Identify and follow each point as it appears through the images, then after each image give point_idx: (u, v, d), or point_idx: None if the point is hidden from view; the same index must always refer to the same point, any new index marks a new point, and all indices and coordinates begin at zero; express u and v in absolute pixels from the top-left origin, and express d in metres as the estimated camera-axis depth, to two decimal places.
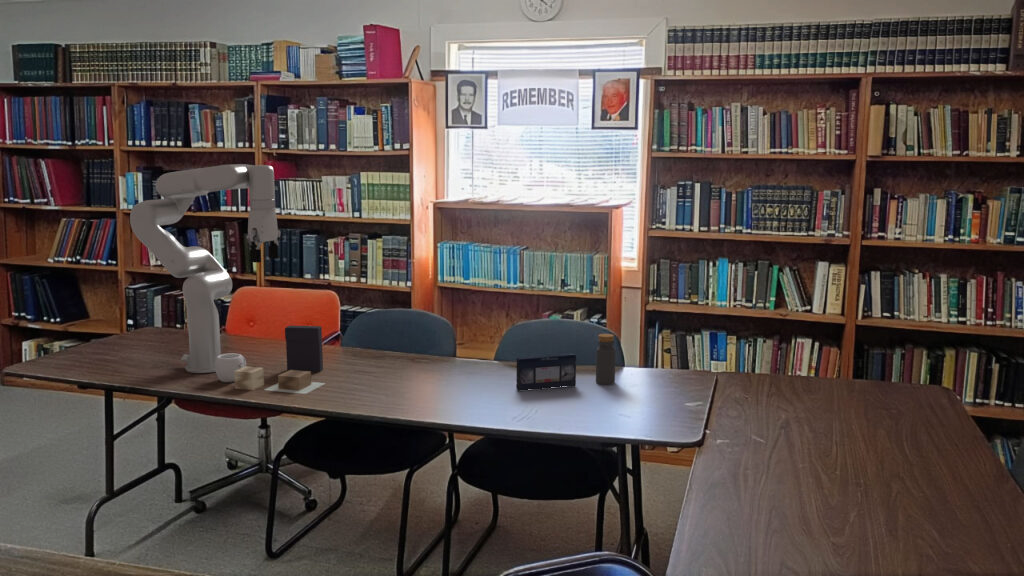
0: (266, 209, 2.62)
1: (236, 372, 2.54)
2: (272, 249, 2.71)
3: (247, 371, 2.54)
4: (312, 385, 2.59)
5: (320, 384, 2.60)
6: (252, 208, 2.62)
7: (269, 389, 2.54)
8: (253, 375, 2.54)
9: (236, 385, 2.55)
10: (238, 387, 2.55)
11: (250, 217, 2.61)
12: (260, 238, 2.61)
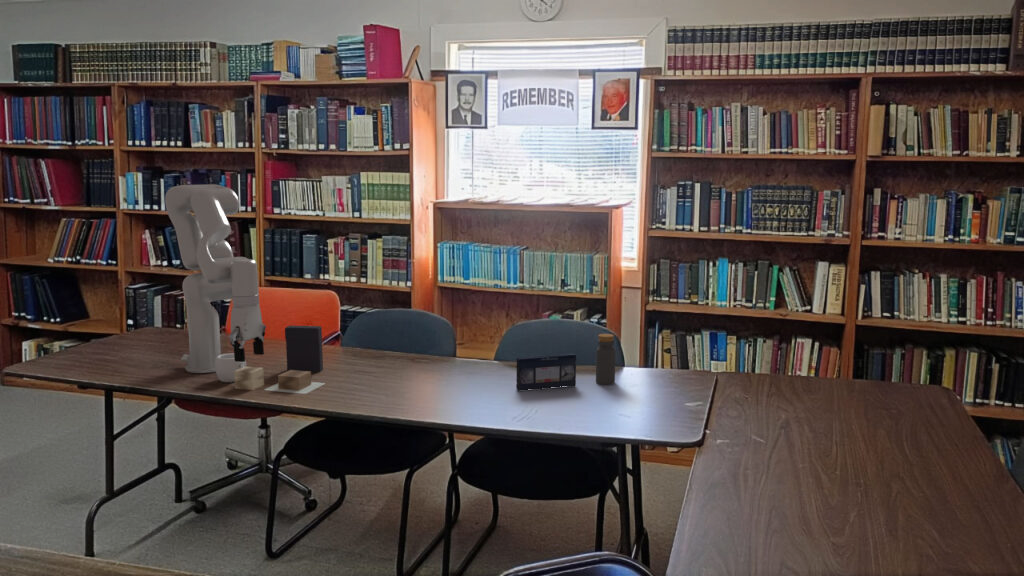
0: (249, 305, 2.50)
1: (236, 372, 2.54)
2: (257, 344, 2.59)
3: (247, 371, 2.54)
4: (312, 385, 2.59)
5: (320, 384, 2.60)
6: (235, 305, 2.50)
7: (269, 389, 2.54)
8: (253, 375, 2.54)
9: (236, 385, 2.55)
10: (238, 387, 2.55)
11: (233, 315, 2.49)
12: (243, 336, 2.49)
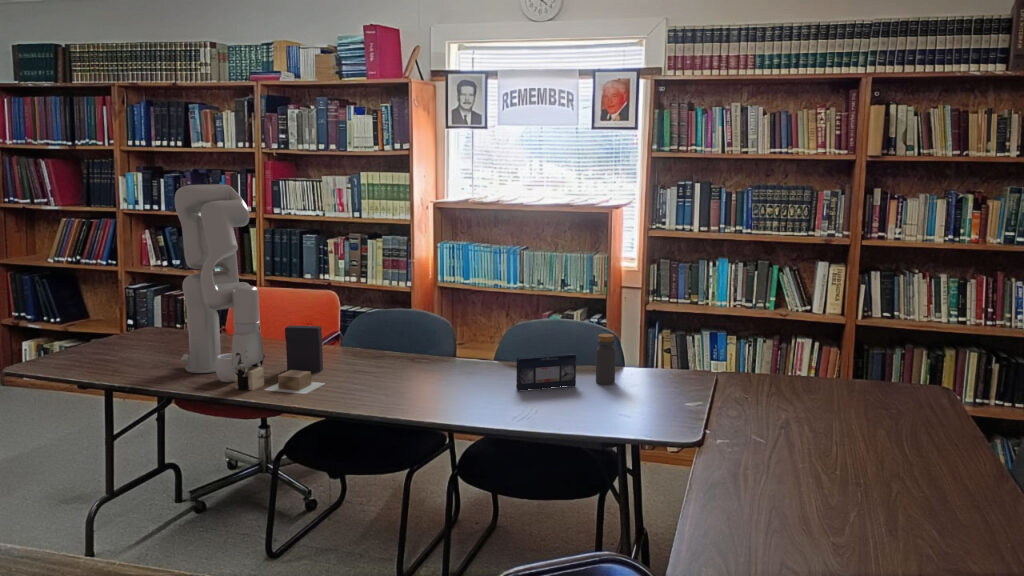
0: (250, 332, 2.51)
1: None
2: None
3: (247, 371, 2.54)
4: (312, 385, 2.59)
5: (320, 384, 2.60)
6: (236, 332, 2.52)
7: (269, 389, 2.54)
8: (253, 374, 2.54)
9: (236, 385, 2.55)
10: None
11: (234, 341, 2.51)
12: (244, 363, 2.51)
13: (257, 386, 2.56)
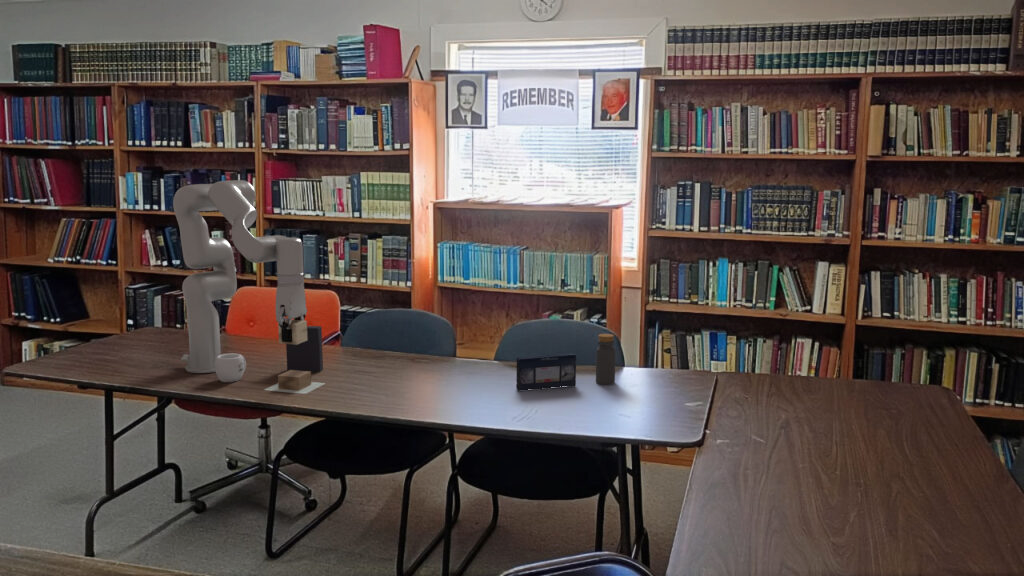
0: (294, 284, 2.49)
1: None
2: None
3: (291, 323, 2.52)
4: (312, 385, 2.59)
5: (320, 384, 2.60)
6: (280, 283, 2.50)
7: (269, 389, 2.54)
8: (297, 327, 2.51)
9: (280, 337, 2.53)
10: None
11: (278, 293, 2.49)
12: (288, 315, 2.49)
13: (301, 339, 2.54)
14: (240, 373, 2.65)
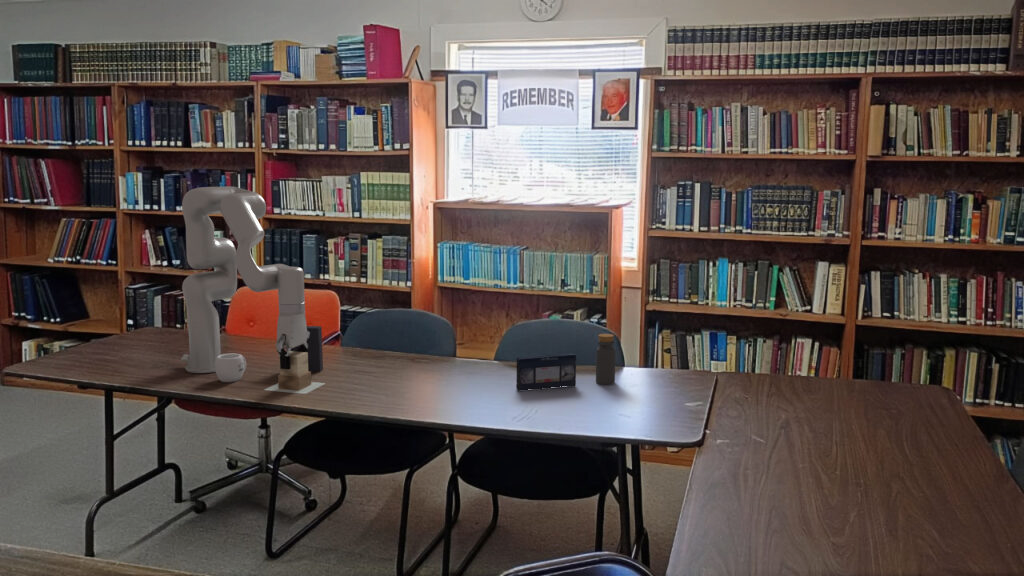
0: (295, 313, 2.51)
1: None
2: (301, 351, 2.60)
3: (292, 355, 2.54)
4: (312, 385, 2.59)
5: (320, 384, 2.60)
6: (281, 312, 2.51)
7: (269, 389, 2.54)
8: (298, 359, 2.53)
9: (281, 369, 2.54)
10: (283, 372, 2.54)
11: (279, 322, 2.50)
12: (290, 344, 2.50)
13: (302, 371, 2.55)
14: (240, 373, 2.65)
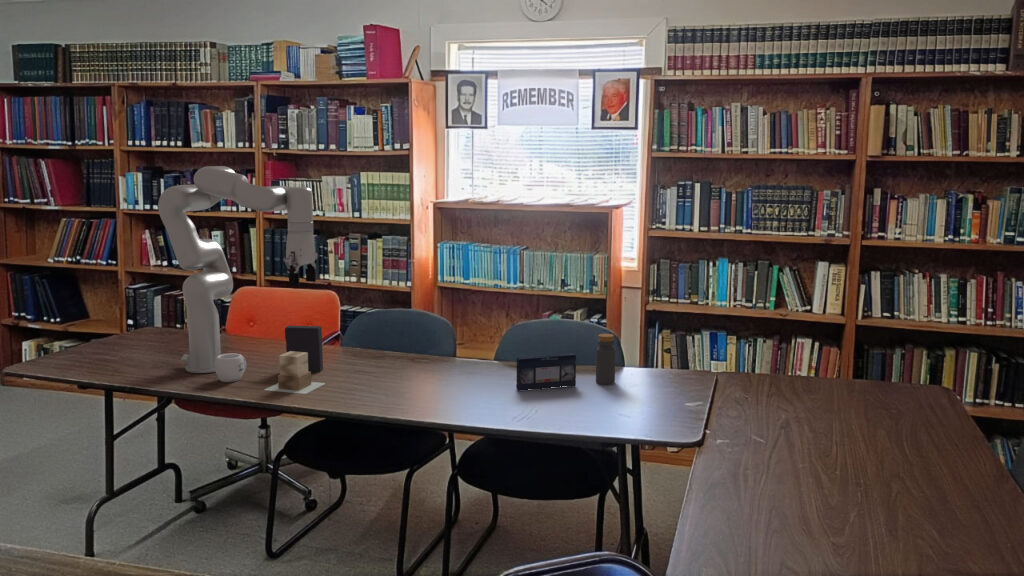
0: (304, 232, 2.57)
1: (281, 356, 2.54)
2: (310, 271, 2.66)
3: (292, 355, 2.54)
4: (312, 385, 2.59)
5: (320, 384, 2.60)
6: (290, 231, 2.57)
7: (269, 389, 2.54)
8: (298, 359, 2.53)
9: (281, 369, 2.54)
10: (283, 372, 2.54)
11: (288, 240, 2.56)
12: (298, 262, 2.57)
13: (302, 371, 2.55)
14: (240, 373, 2.65)
